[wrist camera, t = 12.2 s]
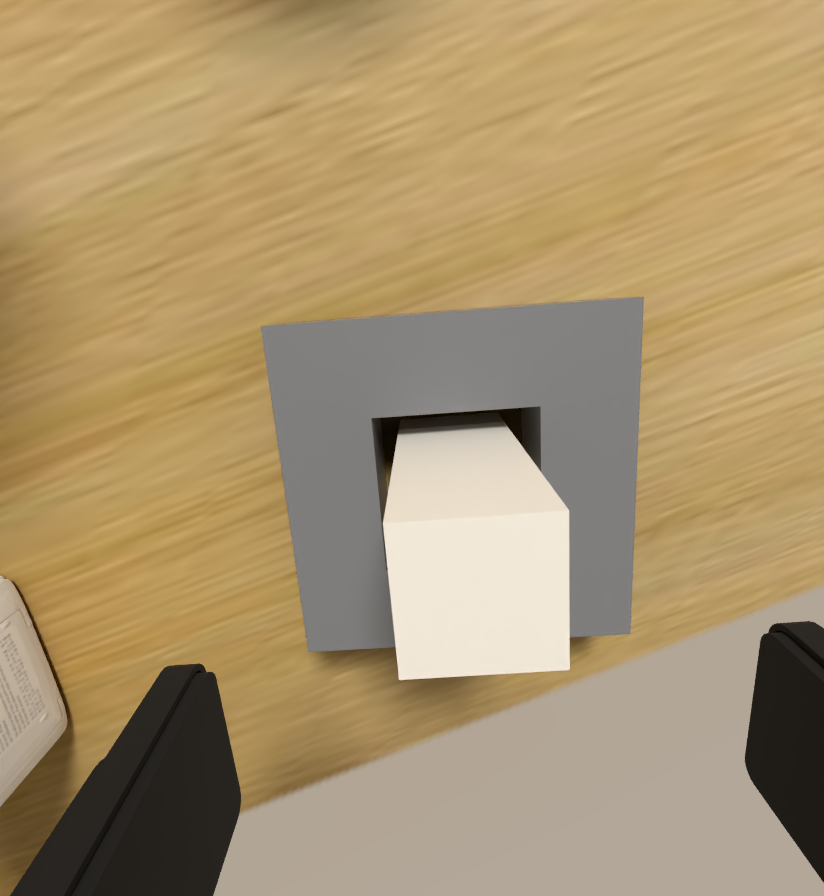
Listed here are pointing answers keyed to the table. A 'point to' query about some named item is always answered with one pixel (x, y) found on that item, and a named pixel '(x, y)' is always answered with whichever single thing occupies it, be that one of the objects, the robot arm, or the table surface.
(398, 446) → the plug
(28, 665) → the photo printer
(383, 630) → the socket box
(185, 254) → the table surface
